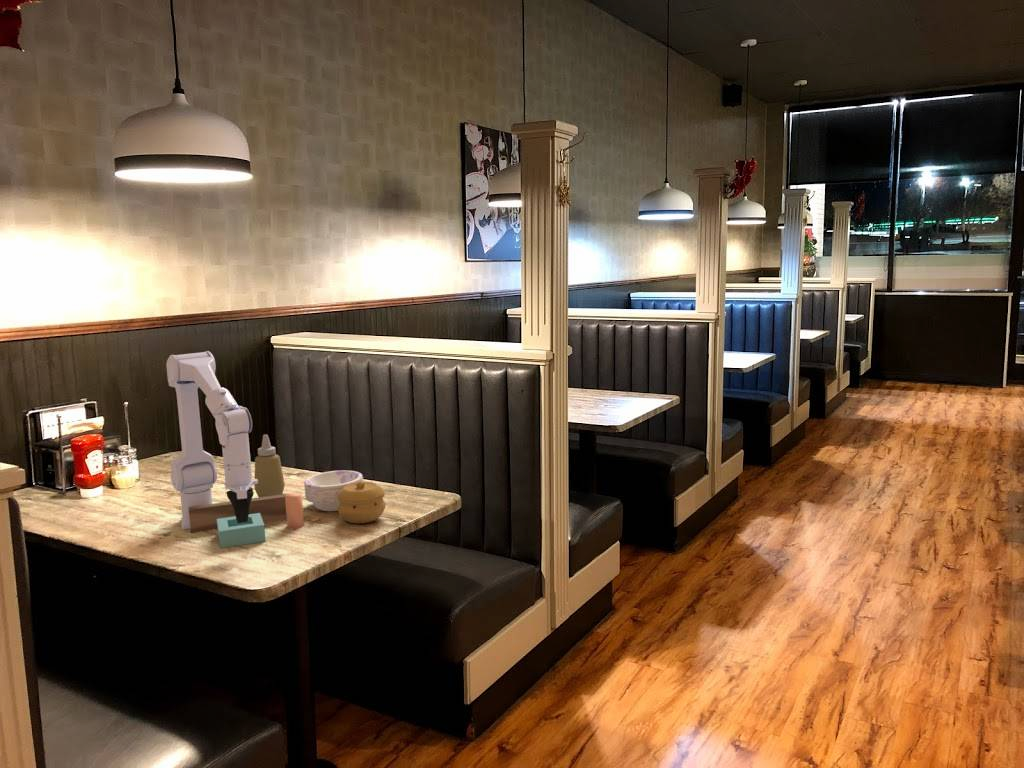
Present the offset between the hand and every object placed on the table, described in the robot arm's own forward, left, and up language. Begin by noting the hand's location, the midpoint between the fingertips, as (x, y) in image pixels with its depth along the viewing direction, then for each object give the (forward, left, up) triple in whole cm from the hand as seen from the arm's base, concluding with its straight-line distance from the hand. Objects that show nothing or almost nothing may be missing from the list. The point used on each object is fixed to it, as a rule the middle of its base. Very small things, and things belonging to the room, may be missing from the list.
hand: (242, 521), depth 188 cm
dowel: (-13, +13, -7) cm, 20 cm away
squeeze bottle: (-40, +10, -7) cm, 42 cm away
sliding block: (-10, 0, -7) cm, 12 cm away
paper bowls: (-25, +25, -7) cm, 36 cm away
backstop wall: (-21, +1, -7) cm, 22 cm away
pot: (-10, +29, -7) cm, 32 cm away
